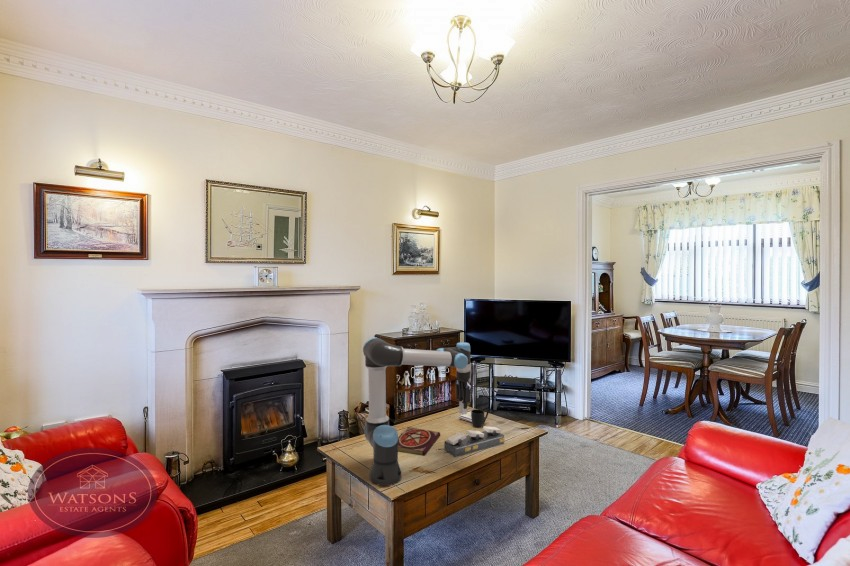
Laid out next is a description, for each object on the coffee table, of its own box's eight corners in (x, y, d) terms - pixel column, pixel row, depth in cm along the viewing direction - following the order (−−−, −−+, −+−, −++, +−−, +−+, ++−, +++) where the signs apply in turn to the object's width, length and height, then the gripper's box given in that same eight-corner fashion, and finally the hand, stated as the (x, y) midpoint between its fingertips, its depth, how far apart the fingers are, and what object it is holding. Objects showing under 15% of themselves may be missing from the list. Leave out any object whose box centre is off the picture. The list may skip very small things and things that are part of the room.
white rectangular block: (470, 439, 232) (472, 433, 232) (465, 435, 237) (466, 430, 237) (483, 439, 237) (484, 434, 237) (477, 436, 241) (478, 431, 241)
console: (454, 457, 224) (455, 447, 224) (444, 449, 233) (444, 441, 233) (504, 443, 241) (504, 435, 241) (493, 437, 250) (493, 429, 250)
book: (424, 457, 226) (425, 448, 225) (388, 451, 232) (388, 442, 232) (440, 437, 253) (440, 429, 252) (407, 432, 259) (407, 424, 259)
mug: (491, 426, 267) (491, 411, 267) (475, 429, 262) (475, 414, 262) (484, 422, 275) (484, 407, 274) (468, 425, 270) (468, 410, 269)
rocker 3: (488, 434, 238) (489, 429, 238) (482, 431, 243) (483, 426, 243) (499, 435, 243) (501, 430, 243) (494, 432, 247) (495, 427, 247)
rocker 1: (453, 447, 226) (452, 442, 226) (448, 443, 231) (447, 438, 230) (466, 440, 231) (465, 434, 230) (461, 436, 235) (460, 431, 235)
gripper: (477, 373, 227) (476, 416, 228) (461, 367, 239) (460, 408, 240) (465, 374, 223) (465, 418, 224) (450, 368, 236) (449, 410, 237)
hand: (463, 413), depth 232 cm, fingers open, 2 cm apart
